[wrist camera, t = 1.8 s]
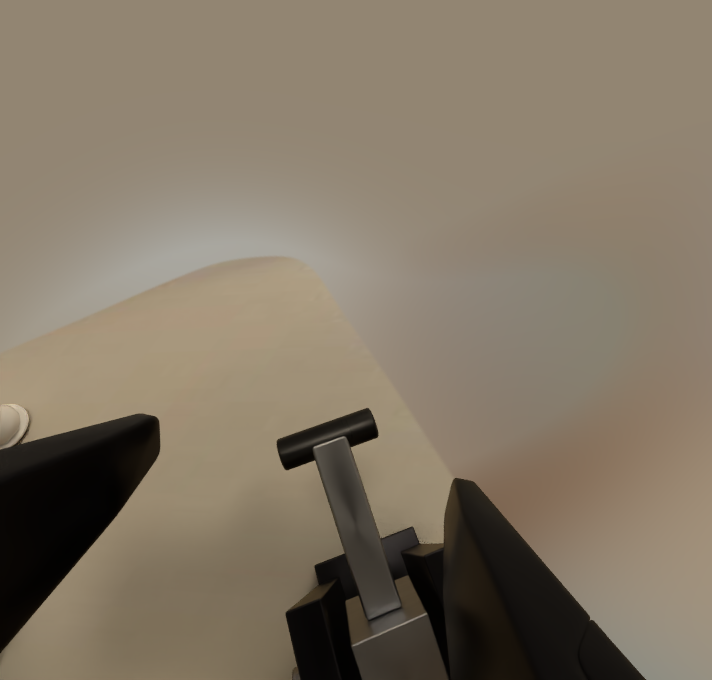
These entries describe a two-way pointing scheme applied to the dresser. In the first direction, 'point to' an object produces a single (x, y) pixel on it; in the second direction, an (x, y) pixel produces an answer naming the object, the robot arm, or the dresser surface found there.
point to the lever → (367, 559)
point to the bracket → (336, 585)
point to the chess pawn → (12, 424)
